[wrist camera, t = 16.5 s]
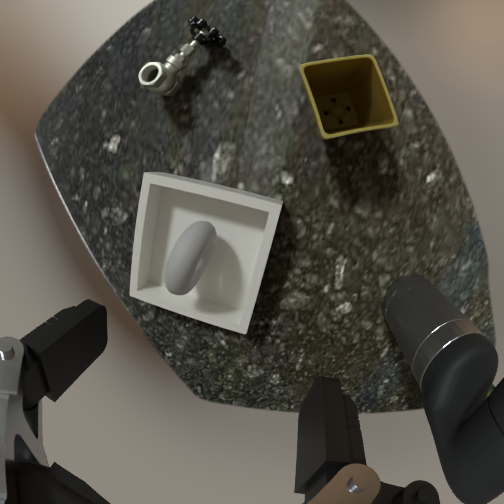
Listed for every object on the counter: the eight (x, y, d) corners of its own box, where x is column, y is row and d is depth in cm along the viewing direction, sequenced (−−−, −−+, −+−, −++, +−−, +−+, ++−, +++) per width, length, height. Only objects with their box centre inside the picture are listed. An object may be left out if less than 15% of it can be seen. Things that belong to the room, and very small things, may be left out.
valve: (175, 108, 35) (231, 49, 32) (155, 98, 29) (220, 29, 26) (148, 86, 35) (201, 29, 31) (125, 74, 29) (186, 10, 25)
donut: (205, 210, 38) (176, 223, 28) (228, 221, 38) (206, 238, 28) (181, 272, 41) (150, 300, 31) (201, 282, 41) (176, 314, 31)
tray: (283, 201, 37) (281, 205, 32) (251, 317, 42) (245, 334, 37) (160, 171, 38) (144, 172, 33) (144, 283, 43) (129, 295, 39)
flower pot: (357, 77, 31) (373, 53, 22) (376, 135, 33) (400, 125, 24) (296, 88, 32) (297, 64, 24) (315, 148, 34) (322, 140, 26)
